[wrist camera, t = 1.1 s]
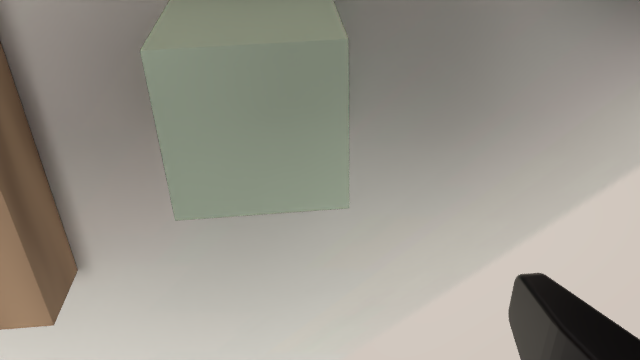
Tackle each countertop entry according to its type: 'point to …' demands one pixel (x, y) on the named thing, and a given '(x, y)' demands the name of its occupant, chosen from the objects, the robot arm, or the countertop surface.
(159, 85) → the sage block
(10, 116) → the walnut base
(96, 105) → the countertop surface
